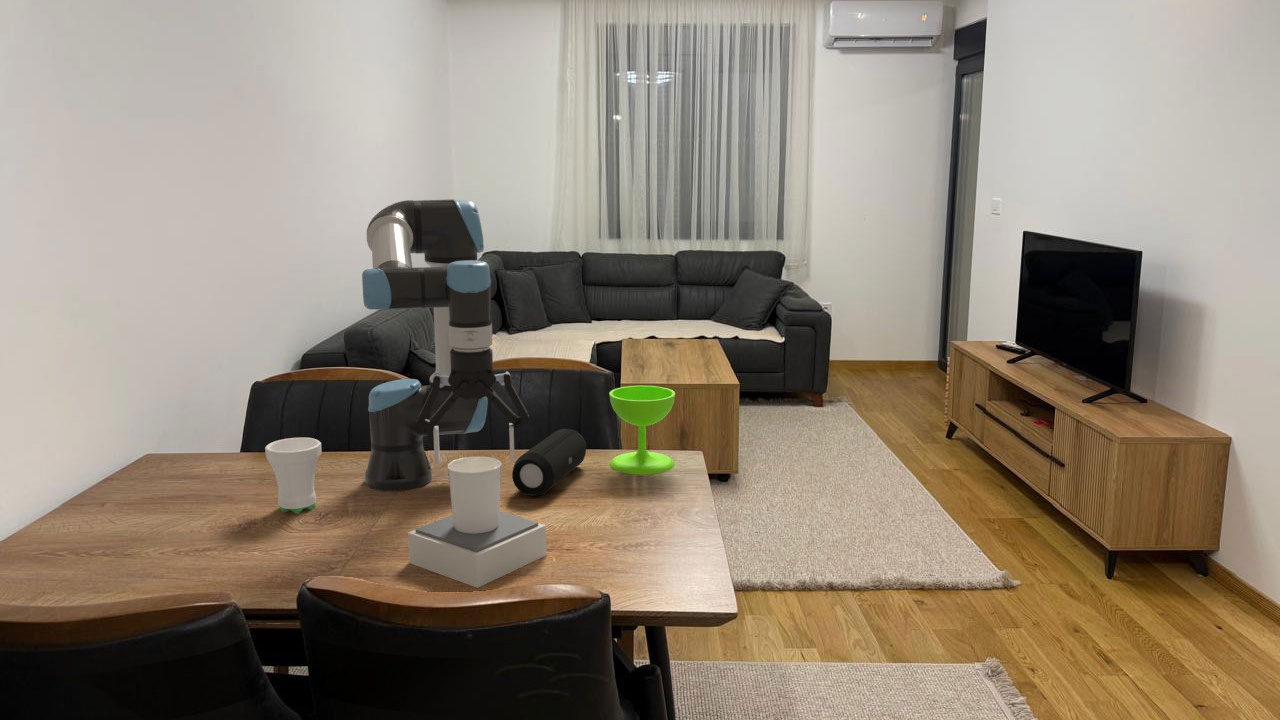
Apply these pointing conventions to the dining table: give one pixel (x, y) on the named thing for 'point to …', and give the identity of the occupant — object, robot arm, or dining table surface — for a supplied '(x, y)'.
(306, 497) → the cup
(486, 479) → the candle holder
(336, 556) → the dining table surface
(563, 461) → the portable speaker
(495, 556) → the plinth
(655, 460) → the wineglass
